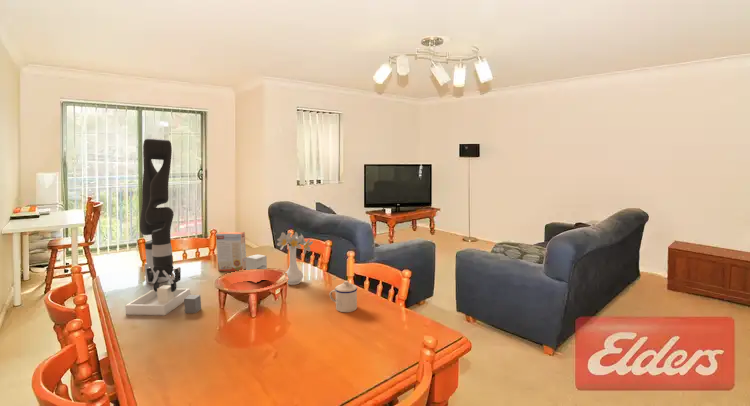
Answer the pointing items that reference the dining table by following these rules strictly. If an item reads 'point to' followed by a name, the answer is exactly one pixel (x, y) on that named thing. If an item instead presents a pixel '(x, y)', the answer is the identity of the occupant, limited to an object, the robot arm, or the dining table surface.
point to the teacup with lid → (345, 297)
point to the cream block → (165, 293)
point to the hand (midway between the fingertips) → (165, 291)
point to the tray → (155, 303)
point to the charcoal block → (192, 303)
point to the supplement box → (256, 262)
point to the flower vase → (293, 254)
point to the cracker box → (231, 251)
